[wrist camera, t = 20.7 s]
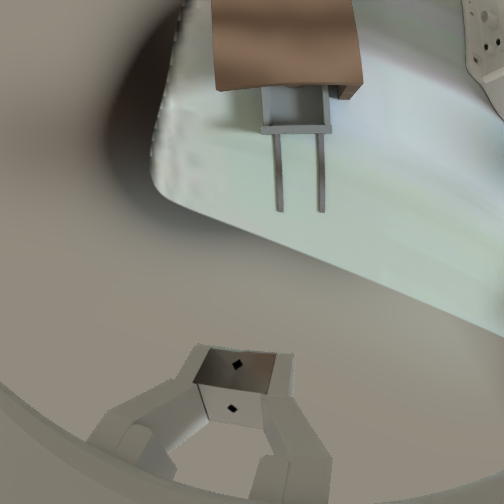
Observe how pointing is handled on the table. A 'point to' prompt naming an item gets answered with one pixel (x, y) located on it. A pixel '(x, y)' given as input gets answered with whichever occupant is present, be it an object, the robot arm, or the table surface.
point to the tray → (296, 110)
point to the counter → (286, 52)
